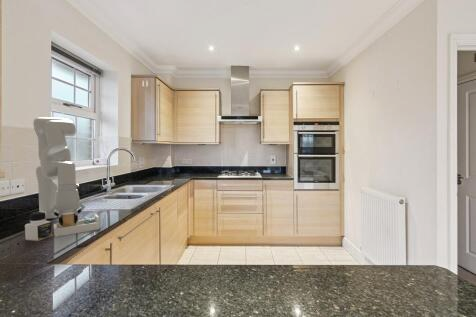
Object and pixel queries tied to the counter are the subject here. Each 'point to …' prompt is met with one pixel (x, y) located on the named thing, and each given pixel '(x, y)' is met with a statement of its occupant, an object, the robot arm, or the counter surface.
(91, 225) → the lane
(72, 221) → the jar
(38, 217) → the medicine bottle
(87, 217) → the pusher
